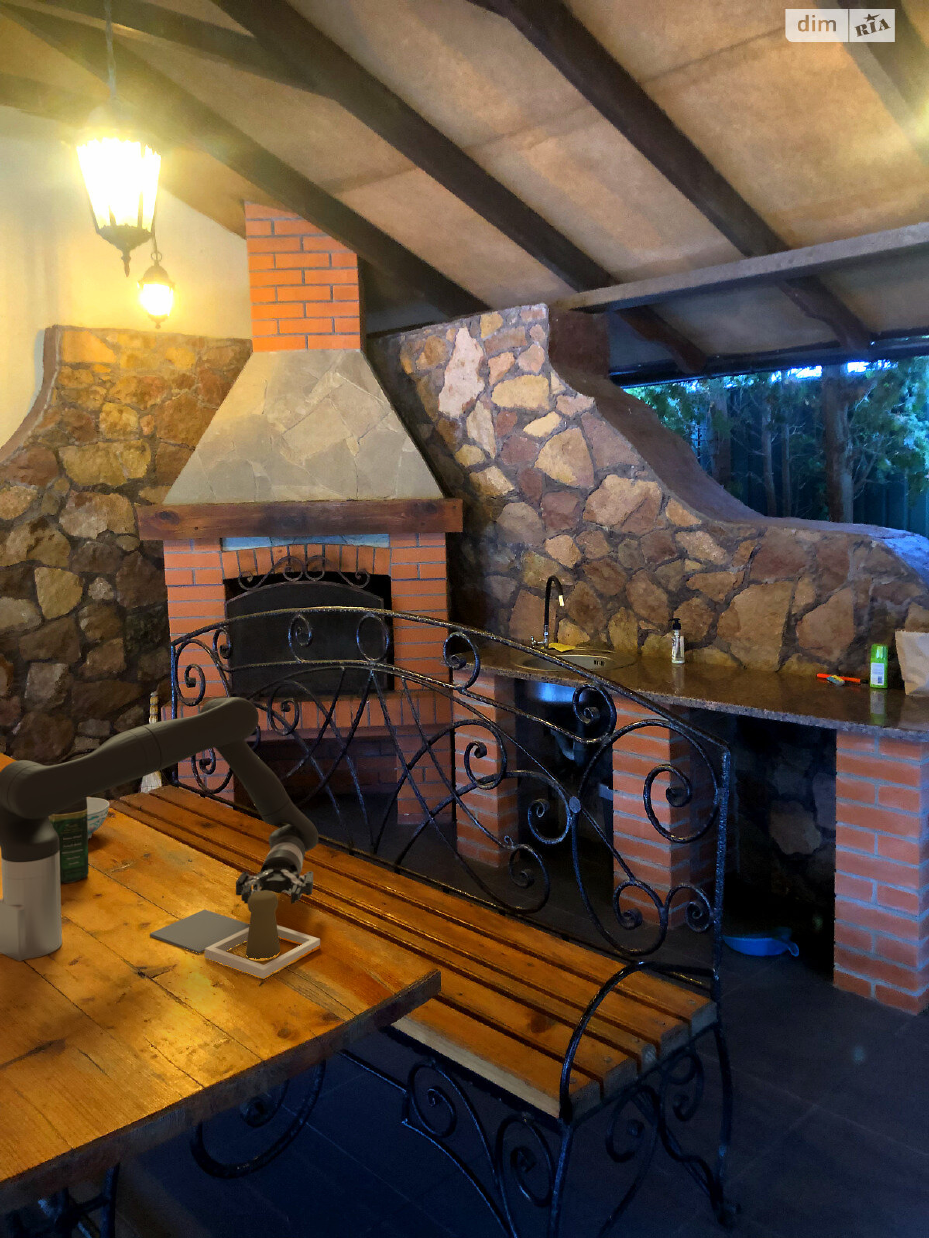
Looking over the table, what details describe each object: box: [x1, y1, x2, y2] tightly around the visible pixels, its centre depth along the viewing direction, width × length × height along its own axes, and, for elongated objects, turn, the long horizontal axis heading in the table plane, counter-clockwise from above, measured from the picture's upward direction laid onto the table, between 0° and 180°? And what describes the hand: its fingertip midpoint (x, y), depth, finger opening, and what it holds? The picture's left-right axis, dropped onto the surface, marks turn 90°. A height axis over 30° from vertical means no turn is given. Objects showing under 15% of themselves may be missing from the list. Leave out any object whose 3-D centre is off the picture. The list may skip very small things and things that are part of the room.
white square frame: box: [204, 924, 321, 978], centre depth 162 cm, size 14×14×2 cm
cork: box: [245, 890, 281, 959], centre depth 161 cm, size 6×6×11 cm
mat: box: [149, 909, 250, 954], centre depth 170 cm, size 13×13×1 cm
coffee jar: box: [49, 798, 90, 884], centre depth 195 cm, size 10×8×19 cm
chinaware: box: [87, 796, 110, 840], centre depth 220 cm, size 15×15×8 cm
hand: (269, 898), depth 169 cm, fingers open, 8 cm apart
